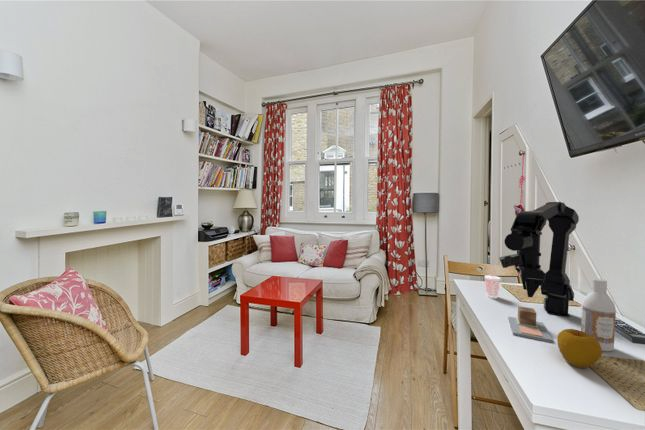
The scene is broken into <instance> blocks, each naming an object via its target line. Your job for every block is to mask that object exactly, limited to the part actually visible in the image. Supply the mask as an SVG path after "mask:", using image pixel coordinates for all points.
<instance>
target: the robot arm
mask: <svg viewBox="0 0 645 430" xmlns="http://www.w3.org/2000/svg"><path fill="white" fill-rule="evenodd" d="M579 221H580V218H579V215H578V213H577V211H576V210H575V209H574V208H572V207H570V206H567V205H566V204H565V202H561V201H549V202H546V203H545V204H543V205H542V206H540V207H537V208H536V209H533V210H524V211H519V213H517V215H516V216H515V218H514V221H513V223H512V226H511V228H510V231H511V233H509V234H507V235H506V236H505V239H504V245H505V247H506V248H507V249H508V250H510V251H512V252H513V251H516V253H515V254H508V255H504V256H499V257H498V259H499V261H500V264H501V267H502V268H503V269H507V268H508V267H512V266H514V269H515V270H516V271H517V272H518V273H519V277H520V279H521V280H520V281H521V285H522V288H523V290H525V291H526V295H527V298H533V297H534V295H535V293H536V292H537V291H538V289H540V292H541V295H542V296H545V297H544V298H543V309H544V310H545V311H546V313H547V314H549V315H556V316H562V317H569V318H570V316H571V315H570V314H569V307H570V305H569V304H570V303H569V302H570V301H571V302H574V301H575V300H574V299H575V291H574V290H573V288H572V286H571V281H570V278H569V276H568V275H567V273H566V268H567V267H566V266H567V259H568V250H569V240H570V235H571V234H572V233H573V232H574V231H575V230H576V229H577V224H579ZM547 222H548V227H549V229H550V230H551V231H552V241H551V251H550V258H549V266H548V267H549V269H548V270H547V271H546V272H544V270H542V268H541V267H542V266H541V264H540V258H541V257H542V253H541V236H542V235H543V232H542V230H543V229H544V228H545V226H546V225H547Z"/></svg>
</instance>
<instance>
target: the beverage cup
mask: <svg viewBox="0 0 645 430" xmlns="http://www.w3.org/2000/svg"><path fill="white" fill-rule="evenodd" d="M483 277H484V280H485V281H484V282H485V283H484V284H485V286H484V287H485V296H486V297H487V298H490V299H497V298H499V290H500V281H501V277H500V276H497V275H494V265H492V266H491V275H489V274H488V275H484V276H483Z"/></svg>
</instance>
